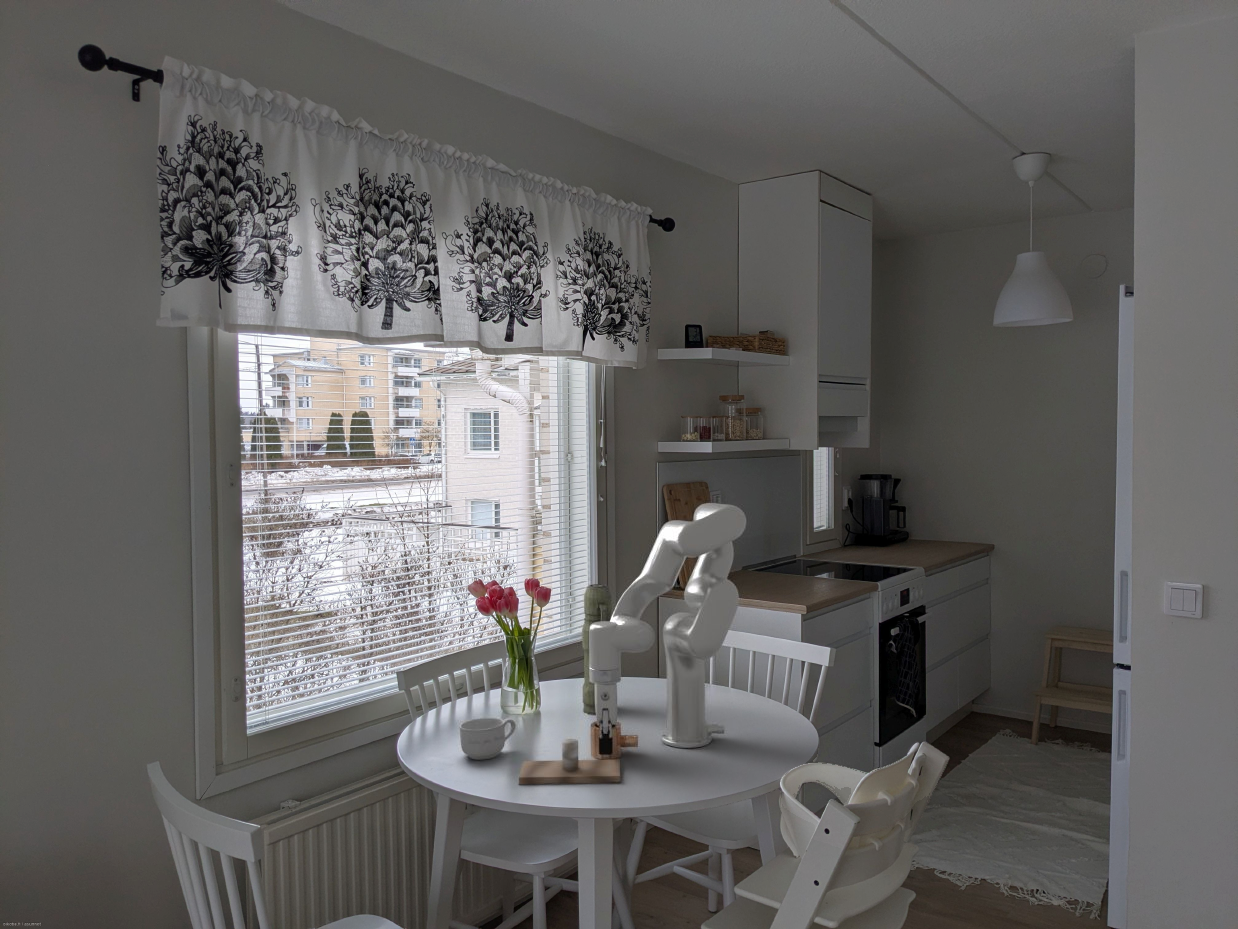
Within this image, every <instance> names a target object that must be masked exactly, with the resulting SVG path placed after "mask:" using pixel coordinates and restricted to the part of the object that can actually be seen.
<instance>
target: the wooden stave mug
mask: <svg viewBox="0 0 1238 929" xmlns="http://www.w3.org/2000/svg"><path fill="white" fill-rule="evenodd" d="M601 724H603V722H601ZM608 724H610V722H608ZM611 725H612V723H611ZM602 729H603V727H602ZM608 729H609V727H608ZM599 737H600V724H599V726H598V725H597V720H596V721H593V722H592V723H590V756H591V757H592V756H593V757H592V758H594V759H597V758H598V759H597V760H615V759H617V758H618V759H619V757H621V756H622V748H639V735H638V734H622V723H621V722H619V721H617V725H616V726H615V725H612V726H611V737H613V754H612V755H600V754H599Z"/></svg>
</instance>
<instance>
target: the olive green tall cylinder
mask: <svg viewBox="0 0 1238 929" xmlns="http://www.w3.org/2000/svg"><path fill="white" fill-rule="evenodd" d="M609 588H610V587H609V586H608V585H606V584H603V583H597V584H596V583H595V584H594V583H593V584H589V585H587V586H586V588H585V592H584V595H583V606H584V607H583V610H584V611H583V613H584V618H583V619H584V620H583V622H584V623H583V626H582V629H581V635H582V636H581V638H582V640H581V641H582V642H581V643H582V644H581V646H582V650H583V656H584V657H583V658H584V660H583V661H584V662H583V665H584V666H583V668H584V674H583V675H584V678H583V679H584V682H583V686H582V703H583V710H582V711H583V713H585V714H586V713H587V715H590V714H591V716H596V710H595V684H594V683H591V682H590V681H589V628H590V626H591V624H593V623H595V622H600V621H610V620H611V617H612V615H611V614H612V594H611V591H610V590H611V589H609Z"/></svg>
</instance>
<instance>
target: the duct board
mask: <svg viewBox="0 0 1238 929" xmlns="http://www.w3.org/2000/svg"><path fill="white" fill-rule="evenodd" d="M561 758H562V759H561V760H559V759H558V760H523V761H522V764H521V769H520V771H519V774H518V775H519V776H518V785H546V784H545V783H569V784H609V782H620V783H621V771H620V770H621V769H620V759H579V740H578V739H576V738H566V739H563V740H562V741H561Z"/></svg>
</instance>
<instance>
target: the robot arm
mask: <svg viewBox="0 0 1238 929" xmlns="http://www.w3.org/2000/svg"><path fill="white" fill-rule="evenodd" d="M746 517H747V516H746V515H745V512H743V510H742V509H741V508H740V507H738V506H736V505H733V504H727V503H725V504H724V503H716V502H707V503H702V504H700V505H699V506H697V507H696V509H695V510H694V514H693V520H692V521H687V520H679V519H677V520H676V519H675V520H670V521H669V520H668V521H667V522H666V523H664V524H663V526H662V527H661V529H660V530H659V533H658V534H657V537H656V539H655V542H654V544H653V546H652V548H651V551H650V553H649V556H648V557H647V560H646V562H645V564H644V567H643V568H642V570H641V572H640V574H639V575H638V577H637V578H636V579H634V581H632V583H631V584H630V585H629V586H628V587H627V589H626V590H625V591H624V592H623V593H622V595H621V596H620V598H619V600H618V602H617V604H616V606H615V608H614V610H613V613H612V615H611V620H610V621H600V622H595V623H593V624H591V626H590V628H589V681H590V682H591V683H594V684H595V710H596V715H595V716H596V718H595V720H596V721H597V725H598V726H599V724H600V737H599V754H600V755H612V754H613V737H611V726H612V725H615V726H616V725H617V722H618V688H617V687H618V683H620V682H621V681H622V663H621V662H622V658H621V656H622V653H634V654H635V653H637V654H638V653H643V652H647V651H648V650H649V649H651V648H652V647H653V645H654V643H655V640H656V635H655V634H656V633H655V630H654V629H653V627H652V626H651V625H650V624H649V623H647V622H645V621H643V620H640V619H641V616H642V615H643V613H644V611H645V609H646V608H647V607H648V605H650V603H651V602H652V601H654V600H655V599H656V598H658V597H659V596H661V595H664V594H665V593H667V592H670V591H671V590H672V589H673V588H674V585H675V584H676V581H677V579H678V576H679V574H680V572H681V570H682V567H683V565H684V563H685V561H686V558H696V557H698V558H697V561H696V563H695V564H694V568H693V571H692V573H691V575H690V577H689V580H688V581H687V584H686V586H685V589H684V594H683V598H684V601H685V604H686V605H687V606H689V607H690V608H691V609H693V610H695V611H697V614H696V615H695V614H693V613H689V612H676V613H673V614H672V615H671V616H669V617H668V618H667V620H666V621H665V623H664V625H663V628H662V640H663V641H662V642H663V646H664V651H665V653H664V654H665V660H666V662H665V663H666V730H665V731H662V732H661V734H660V740H661V741H662V743H663V744H665V745H667V746H671V747H673V748H674V747H675V748H680V749H681V748H682V749H687V748H688V749H691V748H699V747H705V746H707V745H709V744H710V743H711V742H712V737H713V736H712V734H717V735H719V734H720V735H721V734H725V725H719V723H709V722H707V719H706V684H705V682H706V681H705V680H706V669H705V660H708V659H711V658H713V657H714V656H716V655H717V654H718V653H719V651H720V650H721V648H722V646H723V644H724V643H725V639H726V637H727V635H728V632H729V630H730V628H731V624H732V623H733V620H734V617H735V616H736V613H737V612H738V611H737V610H738V607H739V600H740V596H739V591H738V588H737V586H736V585H735V583H734V582H732V581H731V580H730V579H728V577H729V573H730V572H731V568H732V565H733V563H734V562H733V561H734V558H735V556H734V554H735V553H734V545H733V541H735V540H736V539H738V538H739V537H741V536H742V535H743V532H744V531H745V529H746V527H747V518H746ZM601 722H603V724H601ZM608 722H610V724H608ZM611 723H612V725H611ZM602 727H603V729H602ZM608 727H609V729H608Z"/></svg>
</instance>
